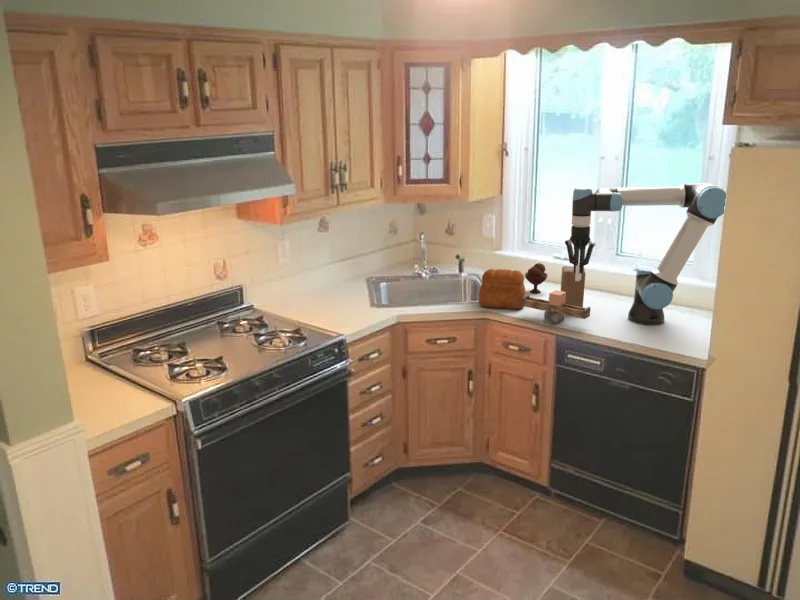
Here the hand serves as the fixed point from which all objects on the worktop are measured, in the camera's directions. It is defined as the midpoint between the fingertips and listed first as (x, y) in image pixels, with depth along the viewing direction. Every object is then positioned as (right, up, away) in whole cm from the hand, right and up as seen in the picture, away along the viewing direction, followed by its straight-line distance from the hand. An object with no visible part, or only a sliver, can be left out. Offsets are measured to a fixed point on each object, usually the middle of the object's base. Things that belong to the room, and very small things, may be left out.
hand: (578, 280), depth 289 cm
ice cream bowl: (-7, -5, +55) cm, 56 cm away
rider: (-7, -11, +9) cm, 16 cm away
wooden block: (+3, -13, +26) cm, 30 cm away
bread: (-27, -11, +36) cm, 46 cm away
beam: (-8, -18, +11) cm, 23 cm away
